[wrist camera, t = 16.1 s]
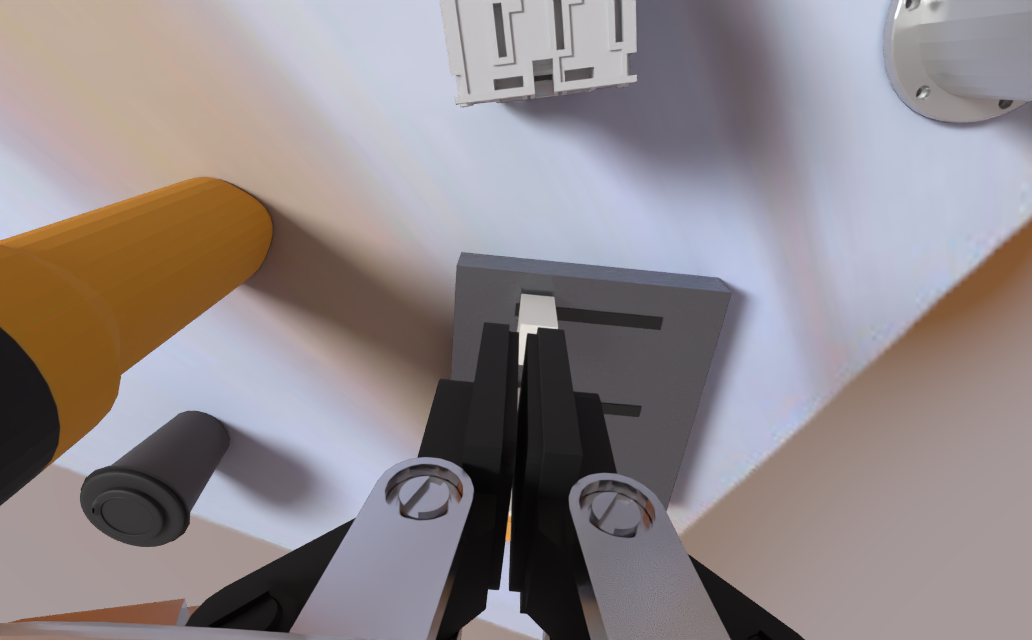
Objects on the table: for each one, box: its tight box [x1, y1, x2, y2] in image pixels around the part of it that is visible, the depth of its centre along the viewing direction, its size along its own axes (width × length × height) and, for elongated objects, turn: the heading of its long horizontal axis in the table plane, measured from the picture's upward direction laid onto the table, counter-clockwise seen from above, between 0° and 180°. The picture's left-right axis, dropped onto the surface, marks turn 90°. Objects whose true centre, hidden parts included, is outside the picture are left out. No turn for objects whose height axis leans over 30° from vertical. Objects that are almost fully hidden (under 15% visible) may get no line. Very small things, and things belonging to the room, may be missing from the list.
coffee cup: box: [80, 411, 230, 547], centre depth 44 cm, size 8×8×10 cm
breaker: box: [517, 294, 558, 365], centre depth 36 cm, size 2×3×5 cm
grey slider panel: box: [451, 252, 732, 511], centre depth 44 cm, size 20×22×3 cm
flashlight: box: [0, 177, 273, 505], centre depth 28 cm, size 10×26×10 cm
